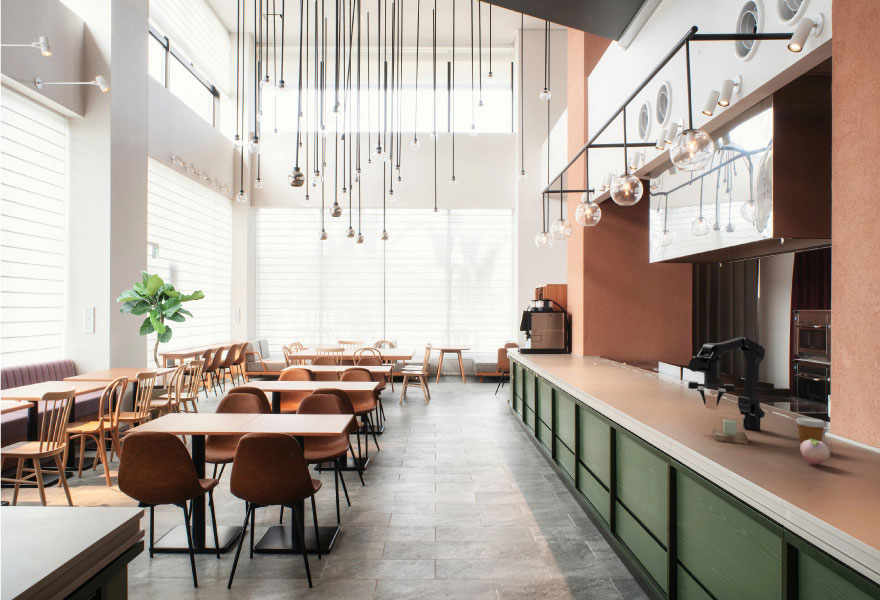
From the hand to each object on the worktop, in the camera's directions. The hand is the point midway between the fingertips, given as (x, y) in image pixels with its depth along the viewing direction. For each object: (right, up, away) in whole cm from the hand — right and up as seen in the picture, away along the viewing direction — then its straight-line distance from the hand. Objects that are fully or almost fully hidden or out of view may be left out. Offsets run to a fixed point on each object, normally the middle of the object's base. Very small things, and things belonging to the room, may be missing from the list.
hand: (710, 405), depth 230 cm
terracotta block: (0, -1, 0) cm, 1 cm away
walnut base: (+1, -12, -13) cm, 18 cm away
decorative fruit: (+12, -12, -48) cm, 51 cm away
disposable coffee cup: (+26, -12, -27) cm, 39 cm away
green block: (+1, -9, -13) cm, 16 cm away
